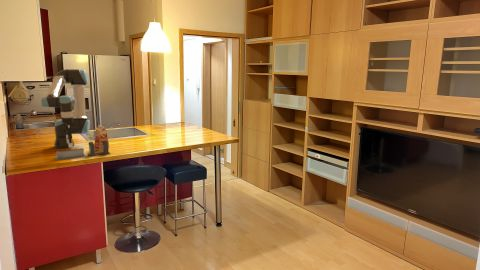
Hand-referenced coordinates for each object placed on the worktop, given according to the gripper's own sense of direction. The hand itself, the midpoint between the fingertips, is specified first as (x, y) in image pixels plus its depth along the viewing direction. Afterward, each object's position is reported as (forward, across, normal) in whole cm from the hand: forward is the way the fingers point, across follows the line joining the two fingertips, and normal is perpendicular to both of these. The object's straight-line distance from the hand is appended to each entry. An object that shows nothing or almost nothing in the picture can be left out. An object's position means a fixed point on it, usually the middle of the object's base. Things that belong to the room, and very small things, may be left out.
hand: (69, 145), depth 250 cm
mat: (+9, +1, 0) cm, 9 cm away
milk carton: (+10, -15, +25) cm, 31 cm away
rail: (+9, +1, 0) cm, 9 cm away
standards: (+9, +1, +20) cm, 22 cm away
